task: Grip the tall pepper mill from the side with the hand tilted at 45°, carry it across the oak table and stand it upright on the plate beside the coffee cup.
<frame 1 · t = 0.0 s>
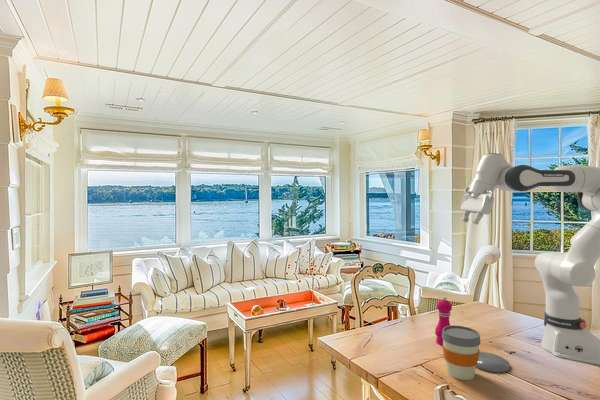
hand: (469, 222, 145), 52 cm above the table, tool tilted 20°, fingers open, 8 cm apart
reusable coffee cup: (460, 373, 126), on the table
plate: (488, 363, 133), on the table
pepper mill: (443, 343, 151), on the table
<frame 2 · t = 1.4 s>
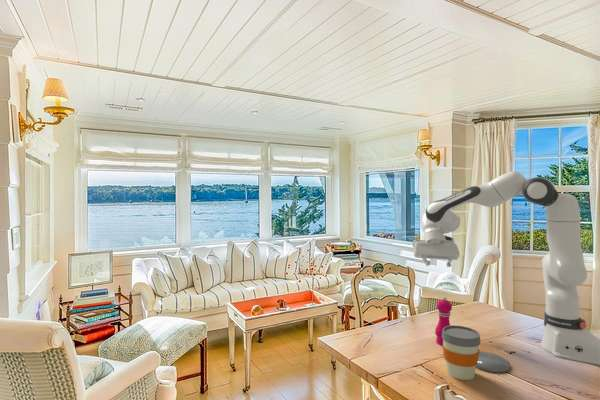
hand: (438, 265, 162), 31 cm above the table, tool tilted 45°, fingers open, 8 cm apart
nothing on the table moved.
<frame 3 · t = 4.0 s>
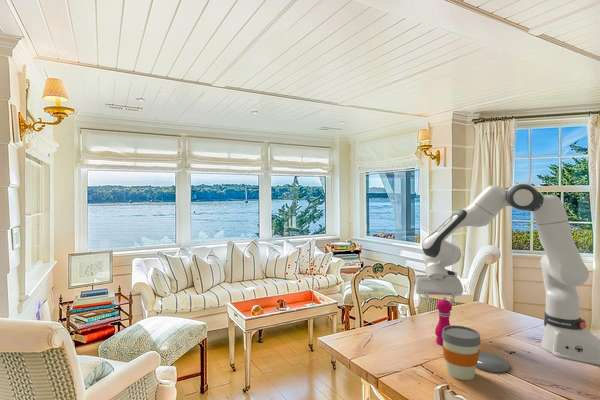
hand: (441, 302, 156), 16 cm above the table, tool tilted 45°, fingers open, 8 cm apart
nothing on the table moved.
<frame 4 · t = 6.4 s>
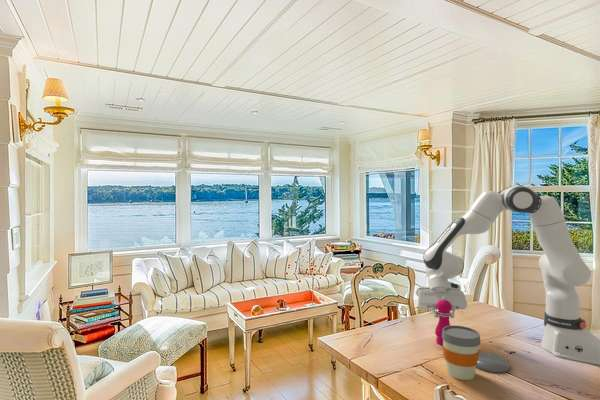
hand: (444, 317, 150), 11 cm above the table, tool tilted 45°, fingers closed on pepper mill, 5 cm apart
pepper mill: (444, 343, 151), on the table, touching gripper
everything else where it was.
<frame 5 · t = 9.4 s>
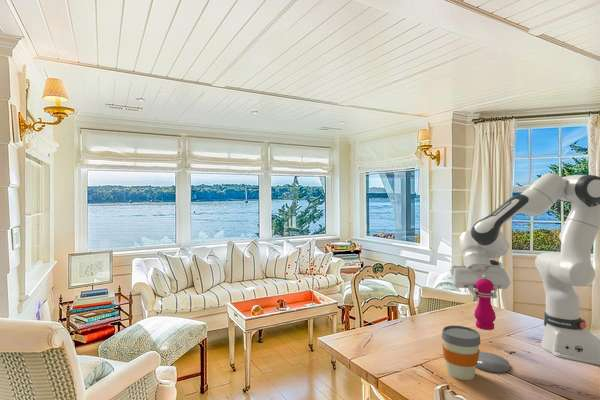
hand: (485, 297, 134), 25 cm above the table, tool tilted 45°, fingers closed on pepper mill, 5 cm apart
pepper mill: (484, 327, 135), point 13 cm above the table, touching gripper
everything else where it was.
when the fingers open (14 cm above the table, at t = 12.8 s): pepper mill stays where it is, resting on plate.
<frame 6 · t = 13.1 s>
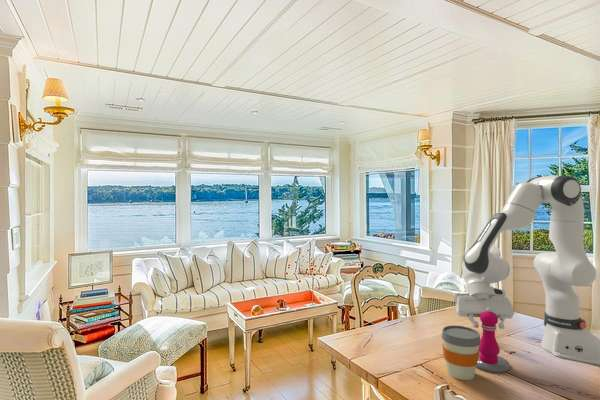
hand: (489, 327, 132), 14 cm above the table, tool tilted 45°, fingers open, 8 cm apart
pepper mill: (488, 360, 133), point 1 cm above the table, touching plate
everything else where it was.
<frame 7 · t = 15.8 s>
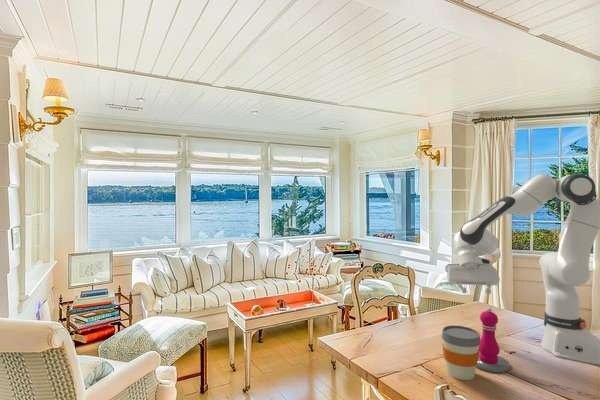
hand: (476, 293, 146), 23 cm above the table, tool tilted 45°, fingers open, 8 cm apart
nothing on the table moved.
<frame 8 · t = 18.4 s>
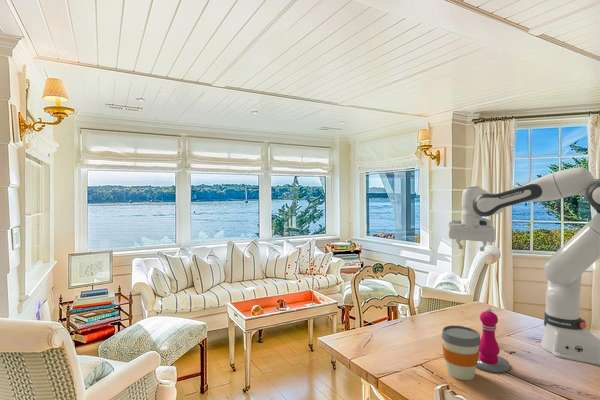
hand: (471, 250, 168), 37 cm above the table, tool pointing down, fingers open, 8 cm apart
nothing on the table moved.
at the end: pepper mill 0.2 cm from the plate (horizontally); pepper mill tilted 0°; the gripper is holding nothing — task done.
